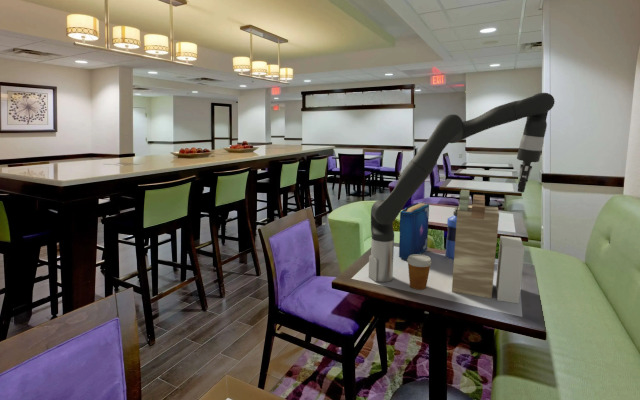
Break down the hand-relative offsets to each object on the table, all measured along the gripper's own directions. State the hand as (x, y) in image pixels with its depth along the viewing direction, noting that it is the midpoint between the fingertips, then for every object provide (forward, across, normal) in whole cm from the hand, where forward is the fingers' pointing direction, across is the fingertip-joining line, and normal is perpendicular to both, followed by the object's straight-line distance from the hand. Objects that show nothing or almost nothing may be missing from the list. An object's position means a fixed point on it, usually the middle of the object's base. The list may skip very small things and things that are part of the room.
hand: (520, 189), depth 143 cm
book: (+45, +15, +40) cm, 62 cm away
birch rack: (+39, -14, +9) cm, 43 cm away
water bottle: (+43, +22, +20) cm, 53 cm away
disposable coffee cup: (+41, -22, +28) cm, 55 cm away
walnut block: (+7, -16, +13) cm, 21 cm away
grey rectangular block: (+38, -13, -3) cm, 40 cm away
